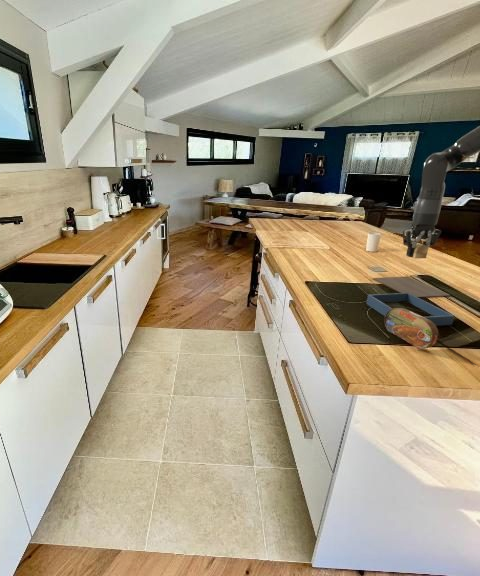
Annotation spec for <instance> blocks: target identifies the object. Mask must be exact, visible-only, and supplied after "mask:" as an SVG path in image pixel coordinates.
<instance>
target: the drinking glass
mask: <svg viewBox="0 0 480 576" xmlns="http://www.w3.org/2000/svg"><path fill="white" fill-rule="evenodd" d="M381 237H382V234H381V233H379V232H368V233H367V240H366V247H365V250H366V252H370V253H377V252H378V249H379V244H380V241H381Z"/></svg>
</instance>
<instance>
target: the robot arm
mask: <svg viewBox="0 0 480 576" xmlns="http://www.w3.org/2000/svg"><path fill="white" fill-rule="evenodd" d="M478 153H480V125H479V126H477V127H475V128H474V129H472V130H470V131H469V132H468V133H466V134H465V135H463V136H462V137H460V138H459V139H457V140H456V142H455V143H454V144H452V145H451V146H450V147H447V148H446V149H444V150H443V151H441V152H433V153H431V155H429V156H428V157H427V158H426V159H425V161H424V163H423V167H422V173H421V174H422V175H421V187H420V190H419V195H418V199H417V201H416V204H415V208H414V213H413V217H412V221H411V223H412V226H411V228H410V229H403V231H402V243H403V245H404V246H406V247H407V249H406V254H405V256H406V255H407V256H406V257H408V258H412V257H413V253H414V249H415V248H414V247H415V246H416V244H418V243H419V242H420V241H421V244H422V245H426V246H429V248H430V247H431V246H435V245H436V243H437V241H438V240H439V238H440V235H441V233H442V230H441V229H437V228H436V227H435V226H436V225H437V224H438V221H439V218H440V213H441V208H442V204H443V198H444V195H445V192H446V191H445V190H446V183H445V179H446V176H447V172H448V171H450V170H452V169H454V168H455V167H457V166H458V165H460V164H461V163H463V162H464V161H466V160H467V159H469V158H470V157H472V156H475V155H476V154H478Z"/></svg>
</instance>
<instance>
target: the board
mask: <svg viewBox="0 0 480 576" xmlns="http://www.w3.org/2000/svg"><path fill="white" fill-rule="evenodd" d="M372 280H373V281H375V282H377V283H379V284H381V285H383V286H385V287H387V288H388V289H391V290H392V291H395V293H410V294H412V295H414V296H416V297H418V298H420V299H426V298H427V299H428V298H446V297H447V298H448V297H451V296H452V295H451V294H449V293H447V292H445V291H442V290H440V289H438V288H435V287H434V286H430V285H429V284H426V283H424V282H422V281H420V280H417V279H414V278H412V277H410V276H408V275H407V276H389V277H388V276H387V277H386V276H385V277H373V278H372Z"/></svg>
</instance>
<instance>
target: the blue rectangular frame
mask: <svg viewBox="0 0 480 576" xmlns="http://www.w3.org/2000/svg"><path fill="white" fill-rule="evenodd" d="M393 302H394V303H395V302H407V303H409V304H411V305H413V306H415V307H417V308H418V309H420V310H422V311H423V312H426V313H427V314H429V315H430V316H429V315H428V316H423V317H424V318H427V319H429V320H431V321H432V322H433V323H434V324H435V325H436V327H438V326H452V325H453V324H454V323H453V322H454V320H455V315H454V314H453V313H450V312H448V311H446V310H444V309H442V308H440V307H438V306H436V305H434V304H432V303H430V302H427V301H426V300H424V299H423V298H418V297H416V296H414V295H412V294H410V293H398V292H395V293H394V292H393V293H378V294H377V293H376V294H375V293H374V294H367V298H366V303H365V304H366V305H367V306H368V307H370V308H372V309H373V310H375V311H376V312H378V313H379V314H381V315H382V316H384V317H385V315H386V313H387V312H388V311H389V310H390V309H393V308H392V307H391V306H389V305H387V304H386V303H393Z"/></svg>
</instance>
